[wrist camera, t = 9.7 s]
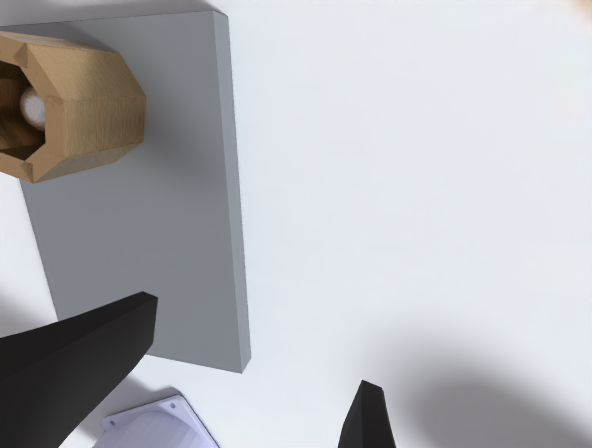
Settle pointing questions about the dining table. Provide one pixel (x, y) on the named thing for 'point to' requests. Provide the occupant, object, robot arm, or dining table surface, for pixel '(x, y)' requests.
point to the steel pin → (33, 109)
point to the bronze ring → (66, 107)
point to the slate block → (157, 194)
